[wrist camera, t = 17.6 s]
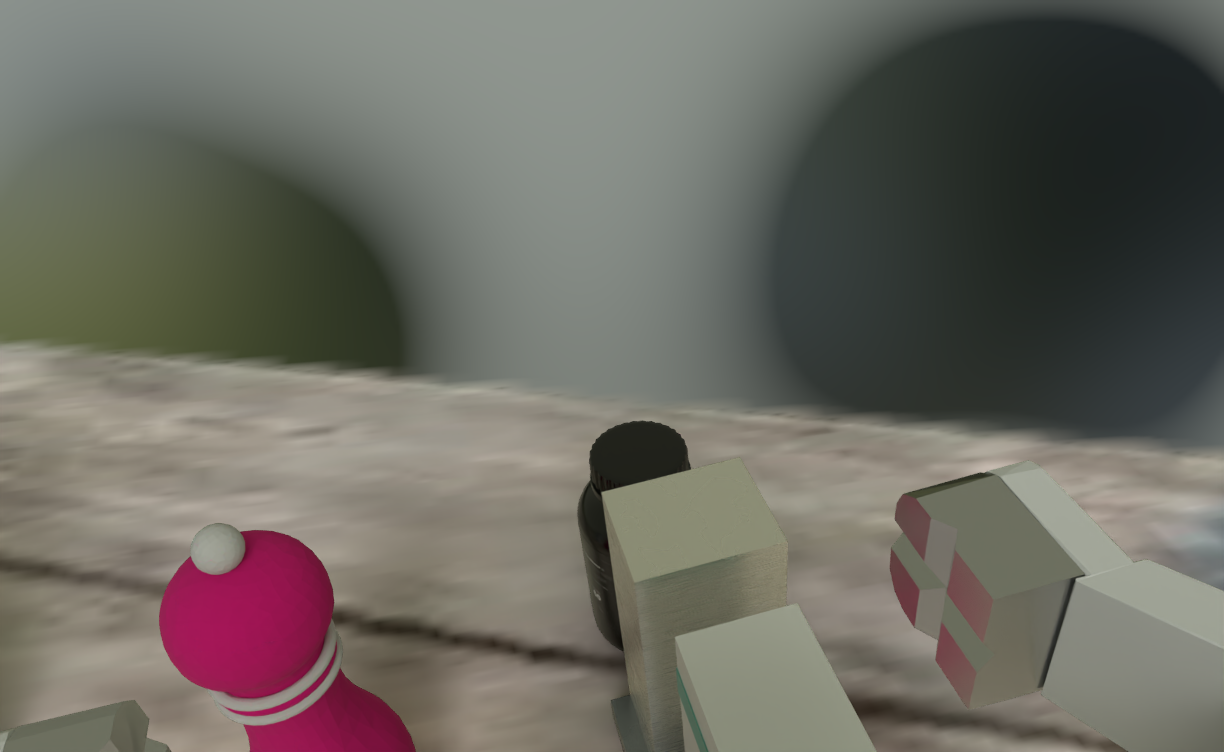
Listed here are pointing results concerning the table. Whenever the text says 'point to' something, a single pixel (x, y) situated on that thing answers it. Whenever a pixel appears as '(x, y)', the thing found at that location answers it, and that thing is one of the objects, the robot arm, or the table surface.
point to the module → (763, 689)
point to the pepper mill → (270, 645)
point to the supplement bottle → (613, 465)
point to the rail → (684, 581)
